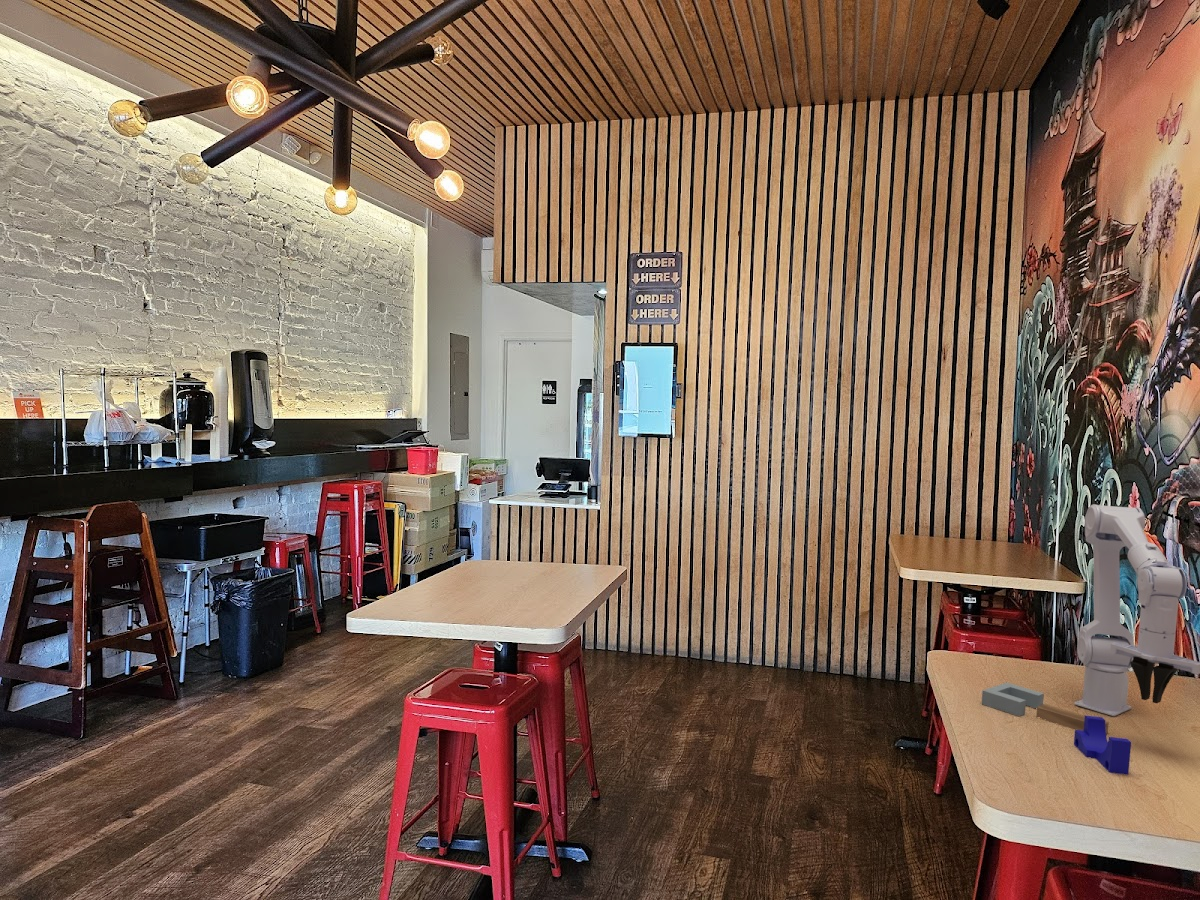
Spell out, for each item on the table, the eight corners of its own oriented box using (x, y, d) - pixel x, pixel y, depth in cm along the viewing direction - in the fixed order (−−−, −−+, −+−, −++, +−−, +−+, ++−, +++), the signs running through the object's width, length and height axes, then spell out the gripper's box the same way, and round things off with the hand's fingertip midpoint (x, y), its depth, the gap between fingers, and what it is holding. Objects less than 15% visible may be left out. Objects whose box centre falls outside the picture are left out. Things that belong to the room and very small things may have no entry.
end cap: (1005, 695, 181) (1006, 682, 181) (1042, 707, 175) (1043, 693, 175) (981, 704, 175) (982, 690, 175) (1019, 716, 168) (1020, 702, 168)
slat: (1044, 715, 171) (1045, 703, 171) (1107, 734, 162) (1108, 722, 162) (1036, 719, 169) (1037, 707, 168) (1099, 739, 159) (1100, 726, 159)
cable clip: (1073, 745, 155) (1076, 714, 155) (1099, 748, 154) (1102, 717, 154) (1100, 772, 143) (1103, 739, 143) (1128, 775, 142) (1131, 742, 142)
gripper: (1106, 623, 157) (1100, 692, 157) (1195, 642, 145) (1188, 717, 146) (1121, 618, 161) (1115, 686, 162) (1208, 637, 149) (1202, 709, 150)
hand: (1150, 700), depth 154 cm, fingers closed
